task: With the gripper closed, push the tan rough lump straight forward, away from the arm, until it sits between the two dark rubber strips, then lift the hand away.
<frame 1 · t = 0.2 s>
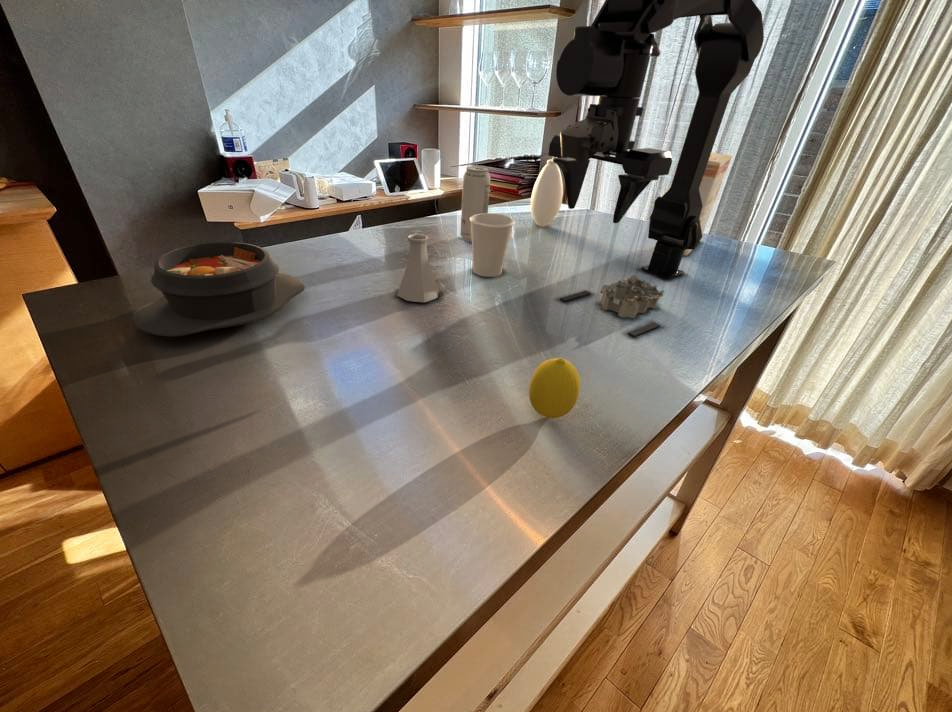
hand: (592, 215, 71), 14 cm above the table, tool pointing down, fingers open, 9 cm apart
flask: (418, 296, 77), on the table
casserole: (229, 312, 69), on the table
energy drink can: (472, 240, 104), on the table
coffeecake box: (679, 246, 109), on the table
lemon: (547, 418, 52), on the table
air blower bulb: (542, 226, 117), on the table
tan rough lump: (627, 306, 79), on the table
bay strips: (607, 312, 76), on the table
dixie cup: (487, 272, 88), on the table
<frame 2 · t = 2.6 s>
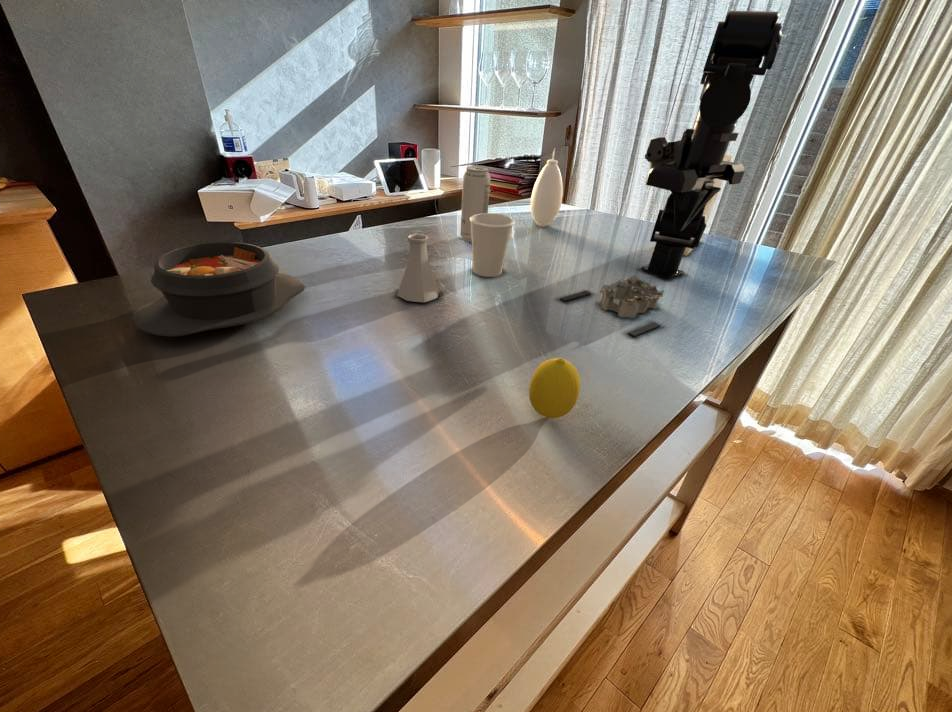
hand: (678, 230, 75), 12 cm above the table, tool pointing down, fingers closed
nothing on the table moved.
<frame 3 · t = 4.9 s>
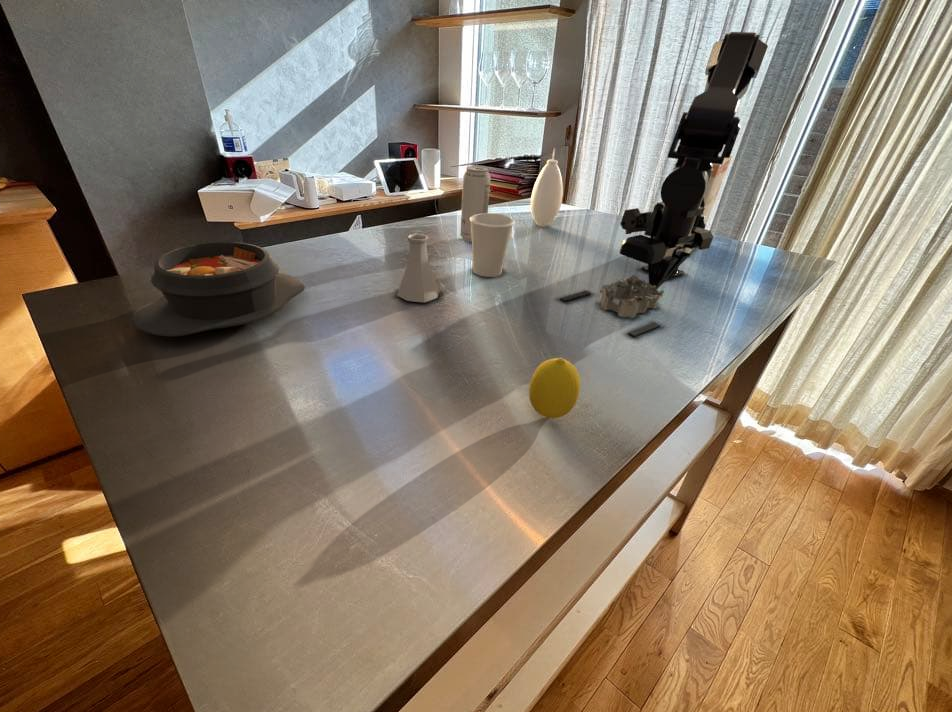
hand: (652, 290, 81), 2 cm above the table, tool pointing down, fingers closed
tan rough lump: (626, 306, 79), on the table, touching gripper
everything else where it was.
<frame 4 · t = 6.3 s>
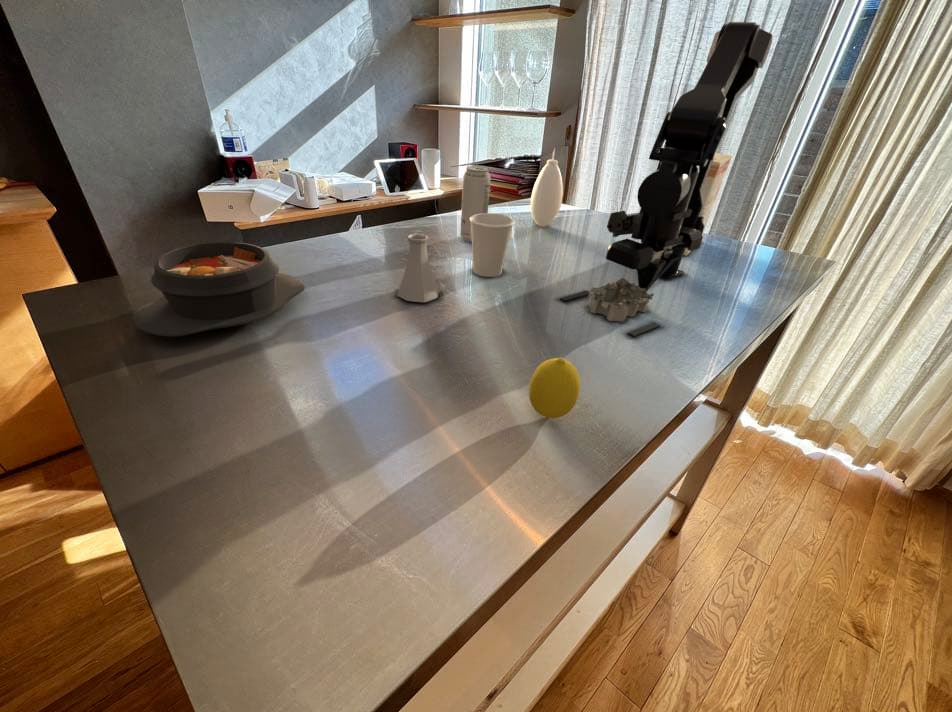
hand: (641, 293, 79), 2 cm above the table, tool pointing down, fingers closed
tan rough lump: (616, 310, 77), on the table, touching gripper
everything else where it was.
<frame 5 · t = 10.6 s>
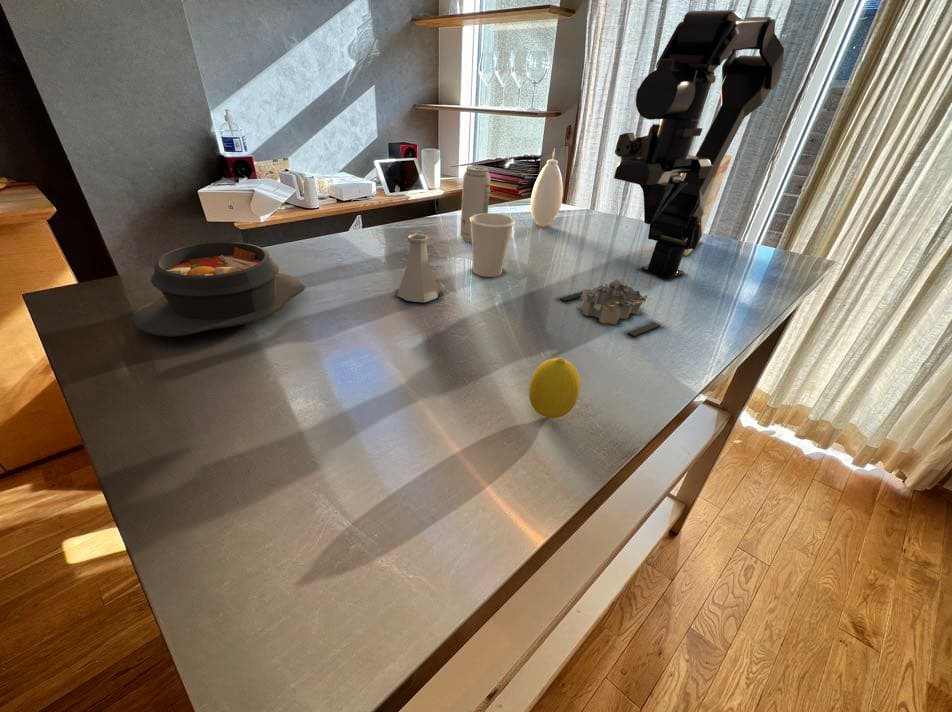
hand: (648, 223, 78), 12 cm above the table, tool pointing down, fingers closed
tan rough lump: (609, 312, 76), on the table
everything else where it was.
at the end: tan rough lump 1.3 cm from the target spot, on the table; tan rough lump moved 4.7 cm from its start; tan rough lump tilted 0° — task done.
